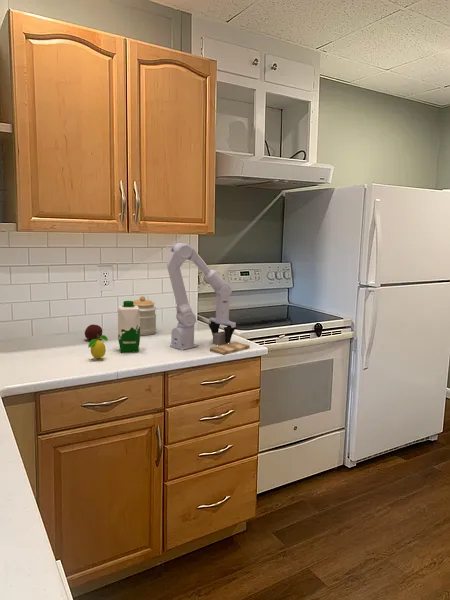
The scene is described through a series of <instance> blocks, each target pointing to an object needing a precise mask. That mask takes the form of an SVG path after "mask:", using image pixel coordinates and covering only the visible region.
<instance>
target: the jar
mask: <svg viewBox="0 0 450 600" xmlns="http://www.w3.org/2000/svg"><path fill="white" fill-rule="evenodd" d="M132 301H133V305H134V306H138V307H139V311H140V336H149V335H151V336H152V335H154V334H156V332H157V314H156V310H157V307H156V306H155V302H153V301H152V300H150V299H146V297H145V296H144V295H143V296H140V297H139V299H135V300H132Z"/></svg>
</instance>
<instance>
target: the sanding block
mask: <svg viewBox="0 0 450 600" xmlns="http://www.w3.org/2000/svg"><path fill="white" fill-rule="evenodd" d="M229 343H231V341H230V342H229ZM213 344H214V345H213ZM225 344H228V343H226V341H225V331H218V333H213V335H212V345H213V346H217V345H218V346H221V345H225Z"/></svg>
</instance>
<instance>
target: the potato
mask: <svg viewBox="0 0 450 600" xmlns="http://www.w3.org/2000/svg"><path fill="white" fill-rule="evenodd" d="M101 335H103V328H102V327H101V325H98V324H94V323H93V324H90V325H88V326H87V327H86V329H85V331H84V336H85V339H87V340H89V341H91V340H92V339H97V340H100V339H101V338H100V337H99V336H101Z"/></svg>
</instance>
